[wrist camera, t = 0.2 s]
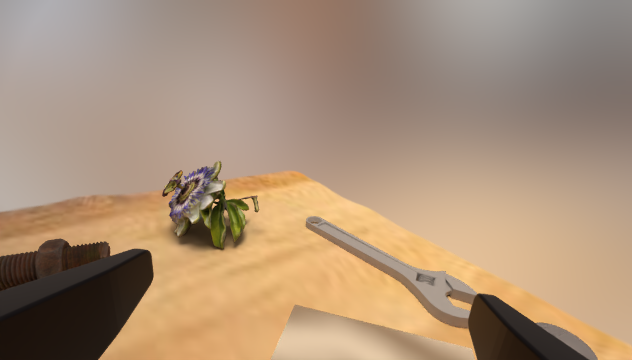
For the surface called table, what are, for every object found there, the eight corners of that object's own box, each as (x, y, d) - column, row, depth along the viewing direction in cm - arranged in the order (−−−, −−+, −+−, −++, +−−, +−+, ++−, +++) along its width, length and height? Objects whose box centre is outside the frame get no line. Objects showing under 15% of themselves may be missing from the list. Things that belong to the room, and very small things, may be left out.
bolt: (112, 287, 33) (-97, 332, 25) (113, 247, 35) (-76, 277, 28) (103, 264, 29) (-148, 308, 21) (105, 221, 31) (-118, 247, 24)
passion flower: (185, 265, 43) (151, 190, 43) (251, 232, 49) (221, 167, 49) (195, 264, 33) (152, 168, 34) (276, 223, 39) (238, 142, 39)
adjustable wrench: (301, 228, 45) (301, 218, 45) (331, 217, 49) (332, 208, 49) (461, 339, 28) (465, 324, 27) (488, 308, 31) (493, 295, 31)
